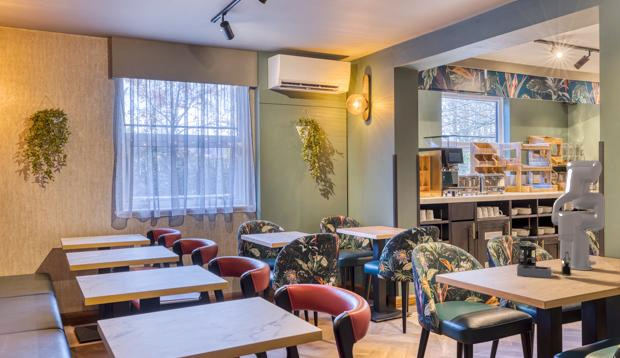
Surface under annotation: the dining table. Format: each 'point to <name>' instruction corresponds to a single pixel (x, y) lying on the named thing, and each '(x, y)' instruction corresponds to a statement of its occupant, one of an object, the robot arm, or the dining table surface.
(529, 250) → the french press
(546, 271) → the block
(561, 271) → the brass fitting
